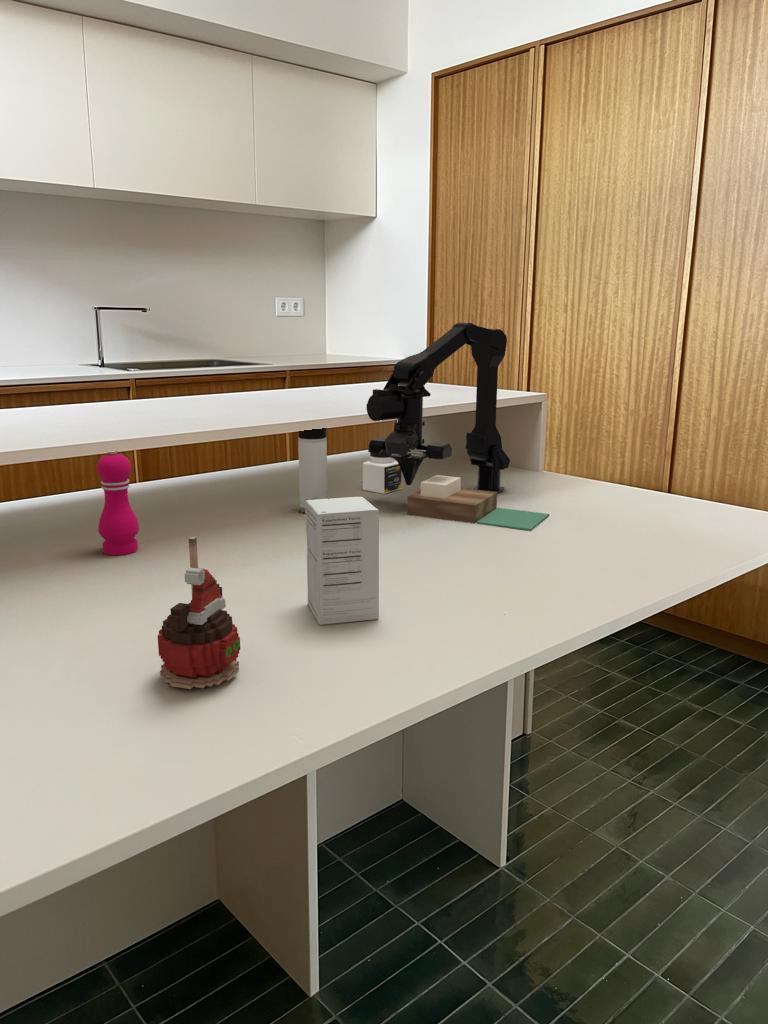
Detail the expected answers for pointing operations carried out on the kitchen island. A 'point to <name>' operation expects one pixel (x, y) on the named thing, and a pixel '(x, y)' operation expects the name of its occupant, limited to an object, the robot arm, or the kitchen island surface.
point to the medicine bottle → (381, 473)
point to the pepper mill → (117, 506)
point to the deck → (454, 505)
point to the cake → (199, 634)
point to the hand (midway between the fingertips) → (408, 485)
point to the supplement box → (342, 559)
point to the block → (440, 486)
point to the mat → (513, 519)
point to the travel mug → (312, 466)
